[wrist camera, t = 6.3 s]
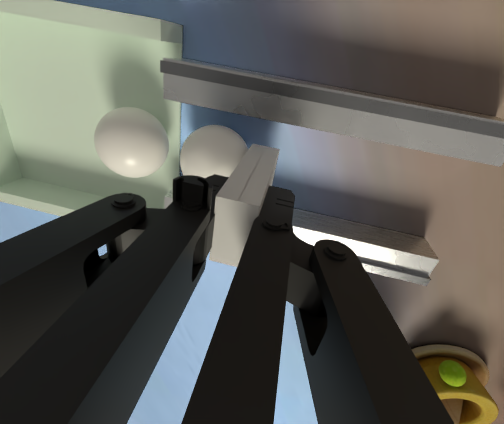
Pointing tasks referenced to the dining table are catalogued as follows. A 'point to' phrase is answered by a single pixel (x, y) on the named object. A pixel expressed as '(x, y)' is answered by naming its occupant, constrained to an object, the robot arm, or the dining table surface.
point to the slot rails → (349, 124)
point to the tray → (78, 101)
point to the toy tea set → (459, 382)
